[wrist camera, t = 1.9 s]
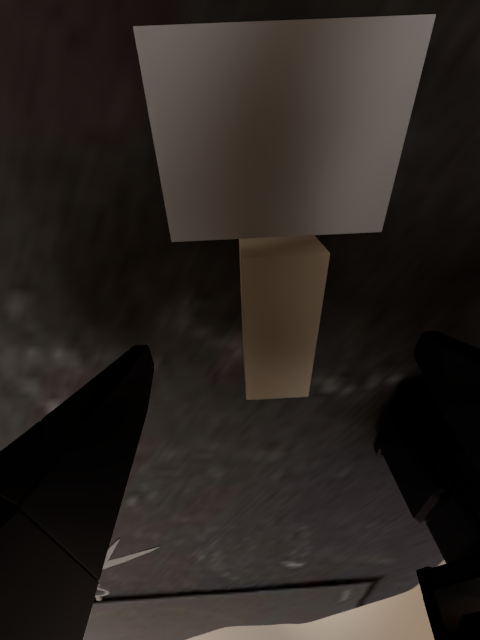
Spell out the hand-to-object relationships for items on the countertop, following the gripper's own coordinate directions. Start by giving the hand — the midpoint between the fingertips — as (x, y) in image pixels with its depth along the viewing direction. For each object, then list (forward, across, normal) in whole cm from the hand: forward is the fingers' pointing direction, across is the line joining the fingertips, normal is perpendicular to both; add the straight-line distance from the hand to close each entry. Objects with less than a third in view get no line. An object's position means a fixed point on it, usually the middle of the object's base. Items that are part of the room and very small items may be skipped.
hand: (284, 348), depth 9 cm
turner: (+3, 0, -3) cm, 4 cm away
